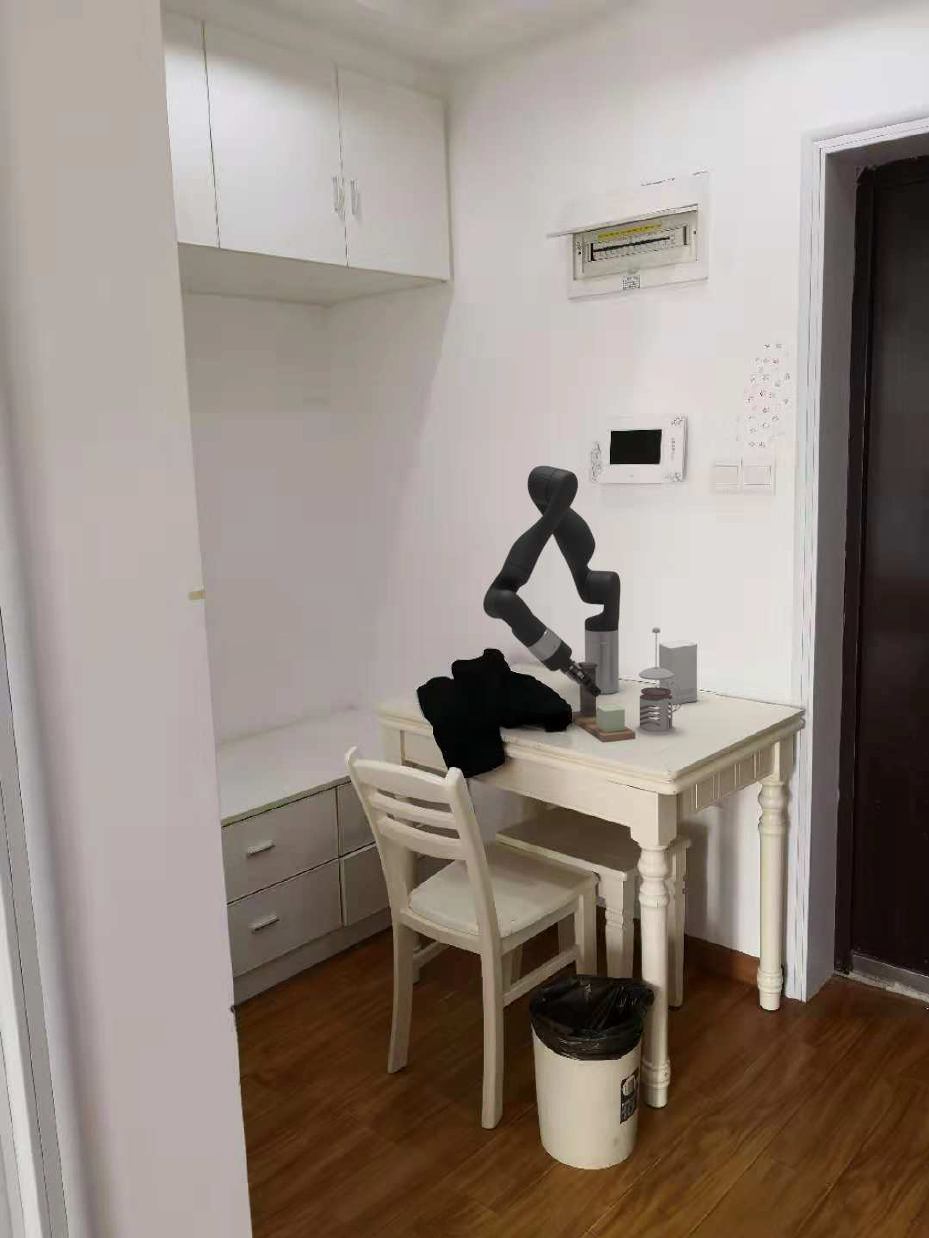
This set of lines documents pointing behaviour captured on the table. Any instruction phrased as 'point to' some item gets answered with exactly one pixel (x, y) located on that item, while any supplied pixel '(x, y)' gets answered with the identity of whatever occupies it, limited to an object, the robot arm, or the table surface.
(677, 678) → the skincare box
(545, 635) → the robot arm
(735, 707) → the table surface
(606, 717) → the sage block
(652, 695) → the french press
